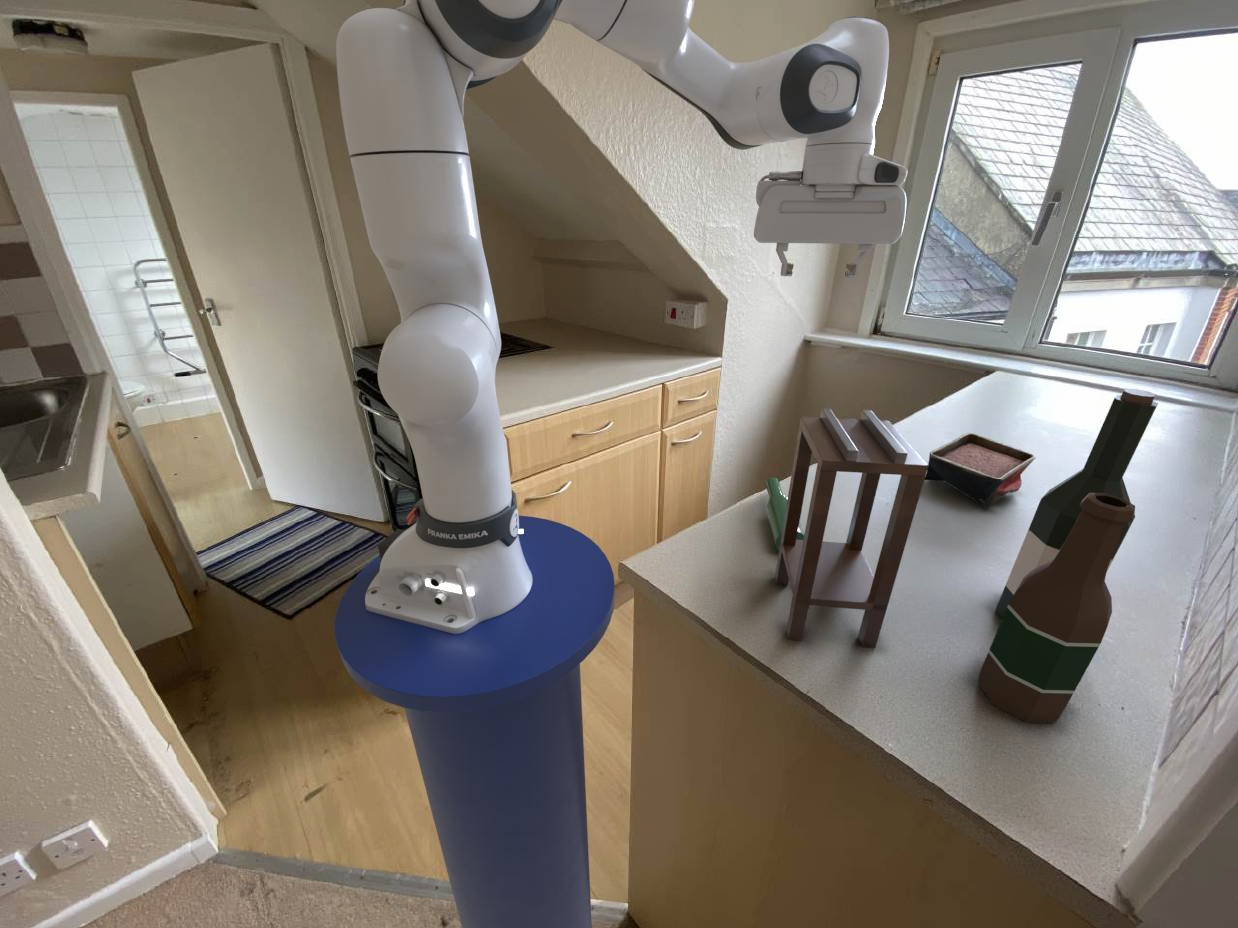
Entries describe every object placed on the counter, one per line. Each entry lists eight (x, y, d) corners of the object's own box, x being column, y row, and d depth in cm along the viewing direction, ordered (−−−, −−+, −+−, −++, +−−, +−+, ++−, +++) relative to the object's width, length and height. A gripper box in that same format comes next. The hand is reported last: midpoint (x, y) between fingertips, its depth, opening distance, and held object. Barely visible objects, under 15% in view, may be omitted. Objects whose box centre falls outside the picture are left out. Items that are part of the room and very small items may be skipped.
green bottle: (812, 541, 77) (790, 525, 76) (791, 560, 79) (769, 544, 78) (790, 481, 93) (771, 467, 93) (773, 498, 95) (754, 485, 94)
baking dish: (1031, 503, 96) (1050, 450, 93) (984, 517, 86) (1004, 459, 83) (949, 477, 107) (964, 429, 104) (900, 487, 98) (915, 435, 95)
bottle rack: (788, 639, 63) (824, 449, 52) (774, 576, 74) (802, 407, 63) (875, 647, 62) (932, 454, 51) (848, 582, 73) (890, 410, 62)
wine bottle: (1068, 611, 68) (1179, 387, 54) (1083, 656, 61) (1214, 412, 48) (991, 591, 71) (1078, 376, 58) (998, 632, 64) (1097, 398, 51)
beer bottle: (1052, 679, 58) (1150, 488, 47) (1073, 738, 52) (1192, 533, 41) (970, 657, 61) (1045, 472, 50) (980, 710, 54) (1069, 511, 44)
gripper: (761, 170, 71) (749, 278, 77) (920, 169, 69) (896, 280, 75) (756, 172, 77) (745, 272, 83) (903, 172, 75) (881, 275, 81)
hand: (818, 276), depth 79 cm, fingers open, 8 cm apart
